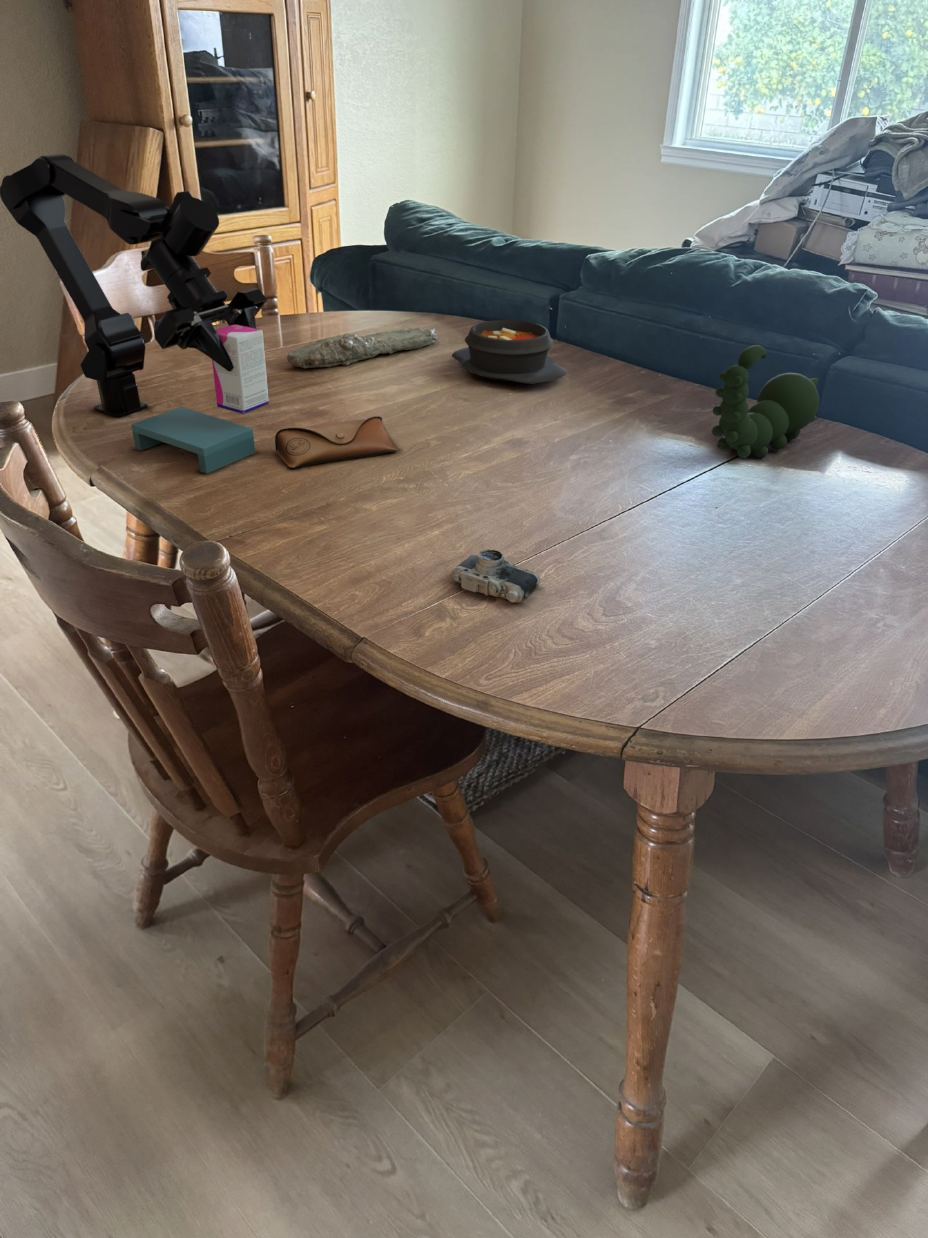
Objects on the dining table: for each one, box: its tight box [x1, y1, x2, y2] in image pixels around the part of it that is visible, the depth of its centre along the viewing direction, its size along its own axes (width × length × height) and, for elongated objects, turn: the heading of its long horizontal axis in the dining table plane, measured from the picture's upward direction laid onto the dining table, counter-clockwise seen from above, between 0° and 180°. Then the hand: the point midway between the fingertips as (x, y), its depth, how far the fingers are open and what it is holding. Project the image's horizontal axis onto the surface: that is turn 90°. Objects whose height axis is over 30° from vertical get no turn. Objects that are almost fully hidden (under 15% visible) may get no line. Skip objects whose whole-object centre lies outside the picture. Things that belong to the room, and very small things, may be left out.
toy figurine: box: [711, 344, 820, 459], centre depth 143 cm, size 9×19×25 cm
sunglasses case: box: [274, 415, 399, 469], centre depth 141 cm, size 18×7×7 cm, turn 116°
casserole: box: [451, 319, 568, 385], centre depth 175 cm, size 25×19×8 cm
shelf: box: [130, 406, 256, 475], centre depth 140 cm, size 16×10×4 cm, turn 56°
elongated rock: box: [286, 327, 438, 369], centre depth 184 cm, size 35×5×10 cm
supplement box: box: [211, 324, 270, 415], centre depth 137 cm, size 6×6×12 cm
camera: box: [451, 549, 541, 603], centre depth 107 cm, size 5×10×4 cm, turn 57°
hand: (246, 364), depth 135 cm, fingers closed on supplement box, 6 cm apart
